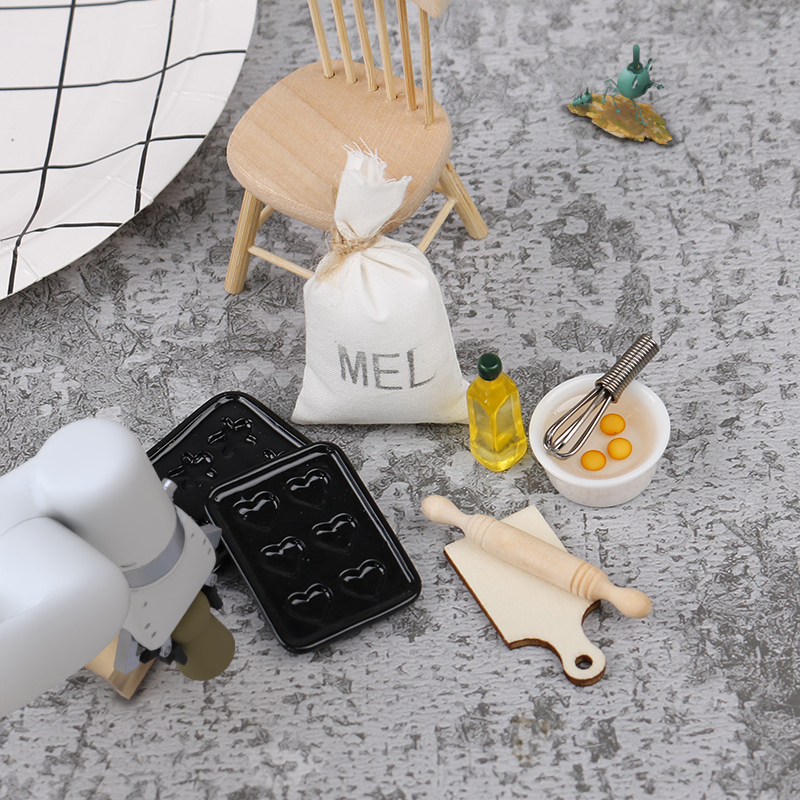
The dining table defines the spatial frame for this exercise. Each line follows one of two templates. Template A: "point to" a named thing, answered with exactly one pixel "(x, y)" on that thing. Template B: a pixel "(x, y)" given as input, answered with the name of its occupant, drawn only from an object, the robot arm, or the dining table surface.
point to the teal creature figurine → (625, 105)
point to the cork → (203, 642)
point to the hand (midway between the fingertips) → (190, 627)
